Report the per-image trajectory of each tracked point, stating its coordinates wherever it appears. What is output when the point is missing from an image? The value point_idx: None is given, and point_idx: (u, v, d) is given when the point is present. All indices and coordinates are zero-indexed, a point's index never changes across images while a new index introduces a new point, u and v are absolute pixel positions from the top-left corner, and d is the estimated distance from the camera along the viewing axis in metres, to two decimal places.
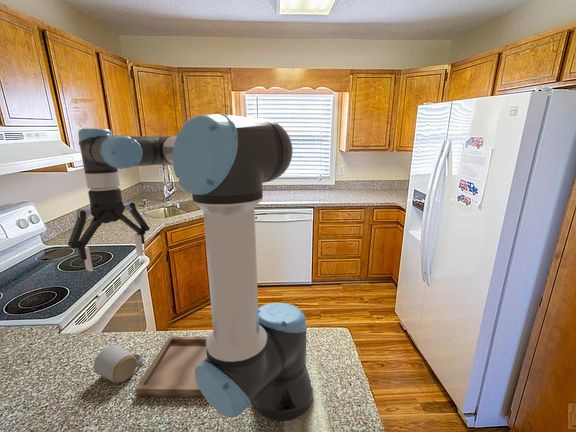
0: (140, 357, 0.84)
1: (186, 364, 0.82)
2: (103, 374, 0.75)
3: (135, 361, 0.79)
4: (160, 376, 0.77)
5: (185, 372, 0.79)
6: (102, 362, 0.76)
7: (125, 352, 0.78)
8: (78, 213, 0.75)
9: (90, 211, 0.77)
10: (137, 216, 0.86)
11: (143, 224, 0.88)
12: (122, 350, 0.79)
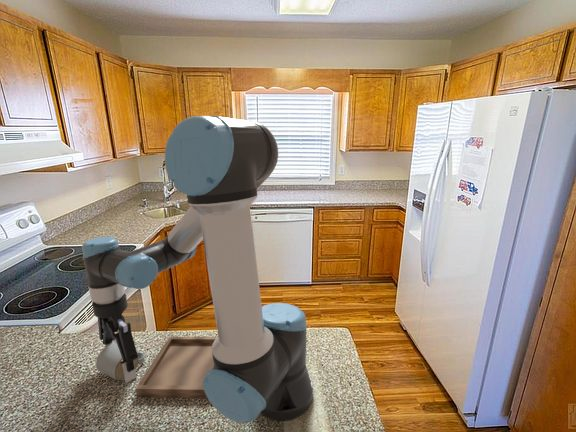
0: (142, 355, 0.85)
1: (186, 364, 0.82)
2: (105, 371, 0.76)
3: (137, 359, 0.80)
4: (160, 376, 0.77)
5: (185, 372, 0.79)
6: (104, 360, 0.76)
7: None
8: None
9: None
10: (121, 342, 0.73)
11: (124, 353, 0.73)
12: None
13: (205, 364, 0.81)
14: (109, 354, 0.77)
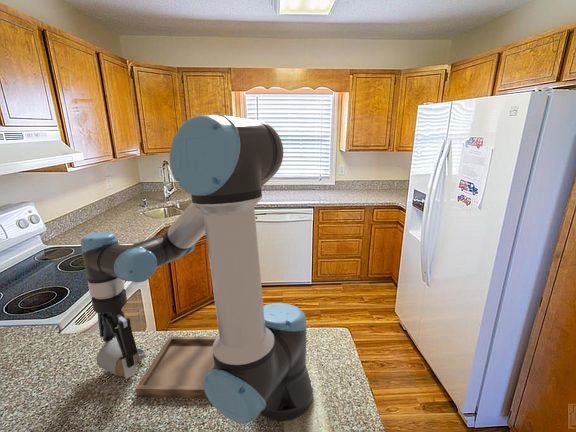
0: (142, 351, 0.85)
1: (186, 364, 0.82)
2: (106, 367, 0.76)
3: (137, 355, 0.79)
4: (160, 376, 0.77)
5: (185, 372, 0.79)
6: (105, 355, 0.76)
7: None
8: None
9: None
10: (121, 337, 0.73)
11: (124, 349, 0.73)
12: None
13: (205, 364, 0.81)
14: (109, 350, 0.77)
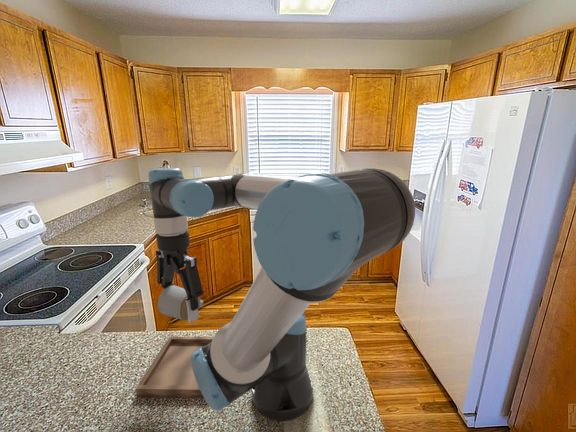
0: (199, 300, 0.82)
1: (186, 364, 0.82)
2: (169, 311, 0.73)
3: (198, 300, 0.77)
4: (160, 376, 0.77)
5: (185, 372, 0.79)
6: (167, 299, 0.73)
7: None
8: None
9: None
10: (188, 276, 0.70)
11: (191, 289, 0.70)
12: None
13: None
14: (172, 293, 0.74)
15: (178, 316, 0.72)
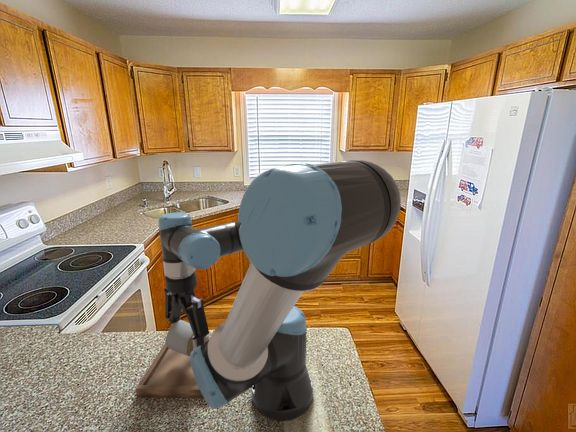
0: None
1: (186, 364, 0.82)
2: (176, 347, 0.76)
3: None
4: (160, 376, 0.77)
5: (185, 372, 0.79)
6: (175, 336, 0.77)
7: None
8: None
9: None
10: (195, 317, 0.73)
11: (197, 329, 0.73)
12: None
13: None
14: (179, 330, 0.77)
15: (185, 353, 0.76)
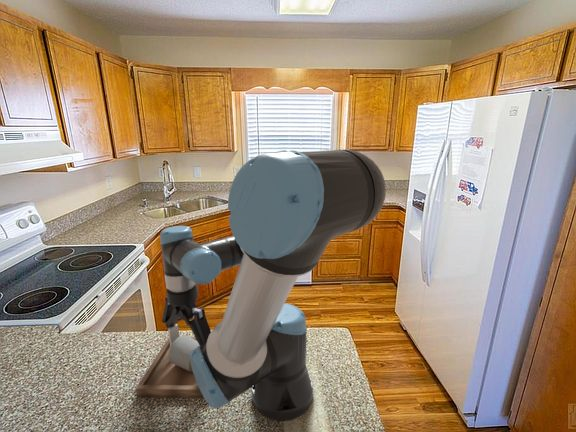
0: None
1: None
2: (178, 363, 0.77)
3: None
4: (160, 376, 0.77)
5: (185, 372, 0.79)
6: (177, 351, 0.78)
7: (197, 342, 0.80)
8: None
9: None
10: (198, 328, 0.73)
11: (202, 340, 0.73)
12: (194, 340, 0.81)
13: None
14: (181, 346, 0.78)
15: (187, 369, 0.77)
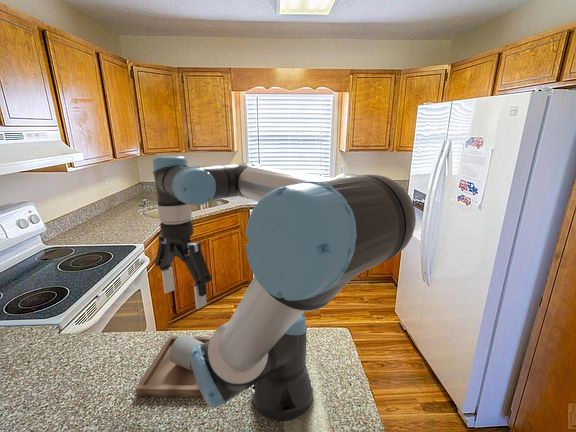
0: None
1: None
2: (179, 362, 0.78)
3: None
4: (160, 376, 0.77)
5: (185, 372, 0.79)
6: (178, 350, 0.78)
7: (198, 341, 0.80)
8: None
9: (166, 239, 0.75)
10: (193, 262, 0.69)
11: (198, 274, 0.69)
12: (195, 339, 0.81)
13: None
14: (182, 345, 0.79)
15: (188, 368, 0.77)
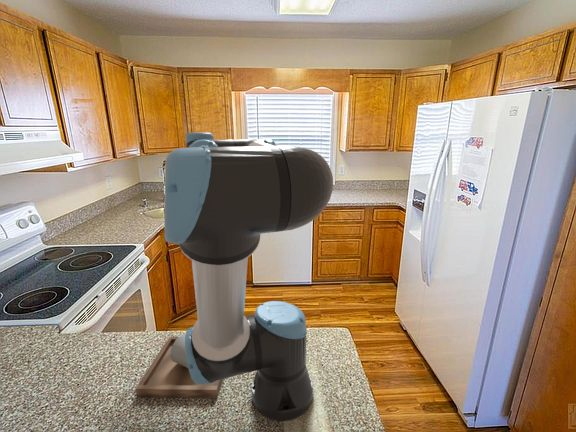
0: None
1: None
2: (180, 361, 0.78)
3: None
4: (160, 376, 0.77)
5: (185, 372, 0.79)
6: (179, 350, 0.78)
7: None
8: None
9: None
10: None
11: None
12: None
13: None
14: (183, 344, 0.79)
15: None
